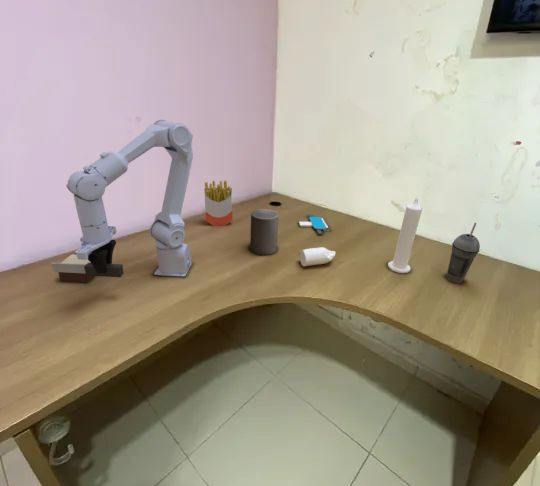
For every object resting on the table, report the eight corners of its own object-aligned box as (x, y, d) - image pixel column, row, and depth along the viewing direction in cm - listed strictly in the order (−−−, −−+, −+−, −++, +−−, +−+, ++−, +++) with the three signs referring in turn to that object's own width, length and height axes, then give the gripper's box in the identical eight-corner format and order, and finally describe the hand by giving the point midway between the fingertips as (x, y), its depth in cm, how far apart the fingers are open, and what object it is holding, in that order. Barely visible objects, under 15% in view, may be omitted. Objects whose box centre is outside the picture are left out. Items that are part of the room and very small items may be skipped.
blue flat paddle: (296, 216, 142) (296, 212, 141) (321, 216, 143) (321, 212, 142) (303, 235, 124) (304, 231, 123) (332, 235, 125) (333, 231, 124)
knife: (124, 273, 82) (122, 264, 80) (120, 277, 80) (118, 268, 79) (56, 269, 82) (54, 260, 81) (51, 273, 80) (48, 264, 79)
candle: (410, 265, 105) (429, 195, 95) (409, 275, 99) (429, 202, 89) (388, 260, 108) (405, 191, 97) (386, 270, 102) (403, 198, 91)
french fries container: (232, 225, 129) (232, 183, 122) (206, 226, 127) (204, 184, 120) (231, 221, 133) (231, 180, 126) (206, 221, 131) (204, 180, 124)
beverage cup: (464, 275, 101) (485, 219, 92) (469, 287, 95) (492, 228, 86) (440, 270, 103) (458, 215, 94) (443, 282, 97) (463, 224, 88)
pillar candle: (245, 251, 109) (245, 212, 103) (256, 240, 118) (257, 203, 111) (271, 257, 106) (273, 217, 100) (280, 245, 114) (283, 207, 108)
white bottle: (338, 265, 103) (340, 251, 101) (304, 269, 100) (306, 254, 98) (330, 257, 108) (332, 242, 106) (298, 260, 105) (299, 245, 103)
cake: (101, 269, 95) (97, 255, 93) (88, 282, 89) (84, 268, 87) (75, 268, 95) (71, 254, 93) (60, 281, 89) (56, 266, 87)
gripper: (93, 210, 81) (103, 255, 87) (57, 234, 68) (72, 285, 74) (120, 211, 81) (128, 256, 87) (89, 235, 68) (101, 286, 74)
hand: (104, 269), depth 80 cm, fingers closed on knife, 2 cm apart
